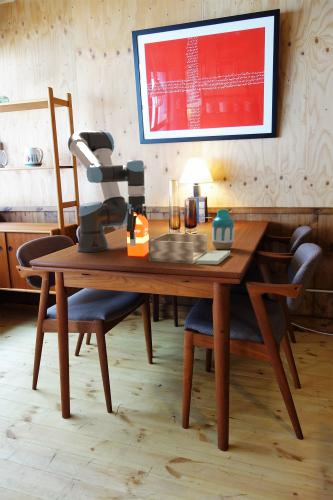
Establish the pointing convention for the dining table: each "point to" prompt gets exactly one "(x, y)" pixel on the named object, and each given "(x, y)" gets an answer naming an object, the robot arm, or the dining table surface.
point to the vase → (223, 230)
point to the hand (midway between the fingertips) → (138, 243)
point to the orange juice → (139, 237)
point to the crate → (177, 248)
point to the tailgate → (213, 257)
